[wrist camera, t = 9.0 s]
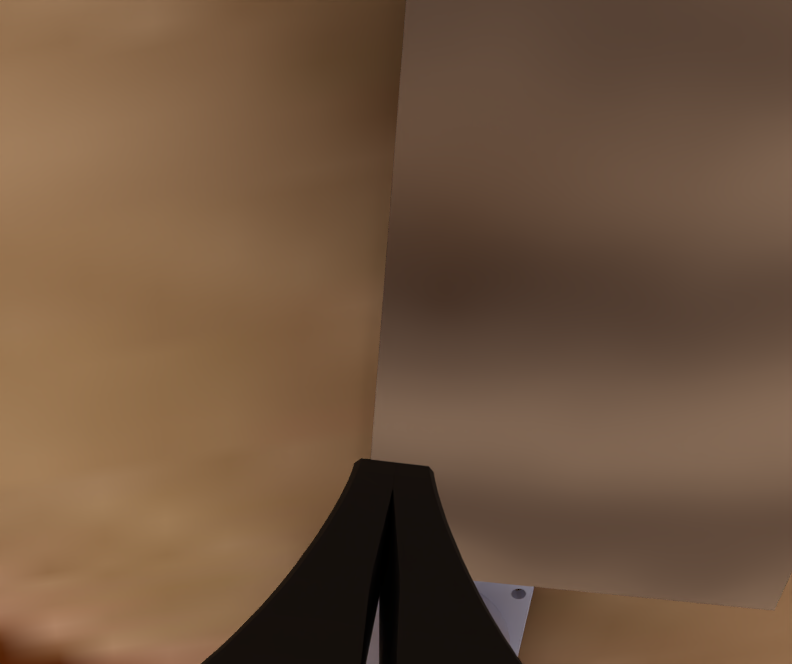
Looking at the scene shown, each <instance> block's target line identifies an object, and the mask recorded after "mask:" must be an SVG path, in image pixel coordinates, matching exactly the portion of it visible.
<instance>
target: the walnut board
mask: <svg viewBox="0 0 792 664" xmlns="http://www.w3.org/2000/svg"><path fill="white" fill-rule="evenodd" d="M371 460H380V461H389V462H397V463H406V464H415V465H423V466H429V467H430V468H431V469H432V471H433V472H434V477H435V482H436V486H437V490H438V494H439V497H440V501H441V504H442V507H443V510H444V513H445V516H446V519H447V522H448V524H449V527H450V530H451V532H452V535H453V537H454V540H455V542H456V544H457V547H458V549H459V551H460V554H461V556H462V559H463V561H464V563H465V565H466V567H467V569H468V572H469V574H470V576H471V578H472V580H473V581H481V582H491V583H501V584H511V585H521V586H531V587H541V588H552V589H562V590H572V591H582V592H592V593H602V594H612V595H622V596H632V597H642V598H653V599H663V600H673V601H683V602H693V603H703V604H713V605H723V606H733V607H743V608H753V609H764V610H775V608H776V606H777V603H778V601H779V599H780V597H781V595H782V592H783V590H784V588H785V586H786V584H787V582H788V579H789V577H790V575H791V573H792V0H406V9H405V22H404V35H403V48H402V61H401V74H400V87H399V99H398V112H397V125H396V138H395V151H394V164H393V177H392V190H391V203H390V216H389V229H388V242H387V255H386V268H385V281H384V294H383V307H382V320H381V332H380V345H379V358H378V371H377V384H376V397H375V410H374V423H373V436H372V449H371Z"/></svg>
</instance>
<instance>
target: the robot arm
mask: <svg viewBox="0 0 792 664" xmlns="http://www.w3.org/2000/svg"><path fill="white" fill-rule="evenodd" d="M515 589H522V590H517V591H516V590H515ZM533 590H534V587H531V586H521V585H511V584H501V583H491V582H481V581H473V580H472V578H471V576H470V574H469V572H468V569H467V567H466V565H465V563H464V561H463V559H462V556H461V554H460V551H459V549H458V547H457V544H456V542H455V540H454V537H453V535H452V532H451V530H450V527H449V524H448V522H447V519H446V516H445V513H444V510H443V507H442V504H441V501H440V497H439V494H438V490H437V486H436V482H435V477H434V472H433V471H432V469H431V468H430V467H429V466H423V465H415V464H406V463H397V462H389V461H380V460H371V459H362V458H361V459H360V460H358V461H357V462H355V463H354V466H353V470H352V472H351V475H350V477H349V480H348V482H347V484H346V486H345V488H344V490H343V492H342V494H341V496H340V498H339V500H338V501H337V503H336V505H335V507H334V509H333V510H332V512H331V513H330V515H329V517H328V518H327V520H326V521H325V523H324V525H323V526H322V528H321V529H320V531H319V533H318V534H317V536H316V537H315V539H314V540H313V542H312V543H311V544H310V546H309V547H308V548H307V550H306V551H305V553H304V554H303V555H302V557H301V558H300V559H299V561H298V562H297V563H296V565H295V566H294V568H293V569H292V570H291V571H290V573H289V574H288V575H287V576H286V578H285V579H284V580H283V581H282V583H281V584H280V585H279V586H278V587H277V589H276V590H275V591H274V592H273V593H272V594H271V595H270V597H269V598H268V599H267V600H266V601H265V602H264V603H263V604H262V606H261V607H260V608H259V609H258V610H257V611H256V612H255V613H254V614H253V615H252V616H251V617H250V618H249V619H248V620H247V621H246V622H245V623H244V624H243V625H242V626H241V627H240V628H239V629H238V630H237V631H236V632H235V633H234V634H233V635H232V636H231V637H230V638H229V639H228V640H227V641H226V642H225V643H224V644H223V645H222V646H221V647H220V648H219V649H217V650H216V651H215V652H214V653H213V654H212V655H210V656H209V657H208V658H207V659H206V660H205V661H203V662H202V663H201V664H522V663H521V661H520V660H519V658H518V654H519V650H520V646H521V641H522V637H523V633H524V628H525V624H526V620H527V616H528V611H529V607H530V603H531V598H532V594H533Z"/></svg>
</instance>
